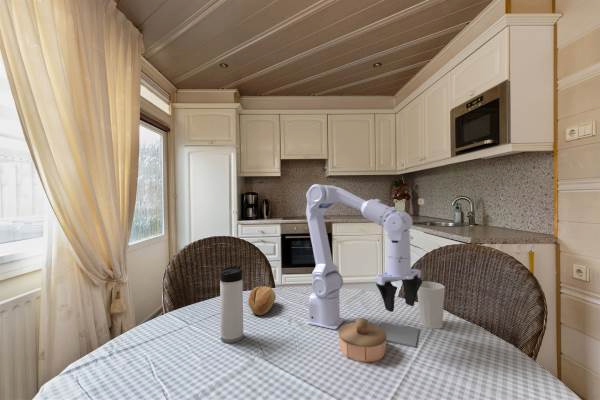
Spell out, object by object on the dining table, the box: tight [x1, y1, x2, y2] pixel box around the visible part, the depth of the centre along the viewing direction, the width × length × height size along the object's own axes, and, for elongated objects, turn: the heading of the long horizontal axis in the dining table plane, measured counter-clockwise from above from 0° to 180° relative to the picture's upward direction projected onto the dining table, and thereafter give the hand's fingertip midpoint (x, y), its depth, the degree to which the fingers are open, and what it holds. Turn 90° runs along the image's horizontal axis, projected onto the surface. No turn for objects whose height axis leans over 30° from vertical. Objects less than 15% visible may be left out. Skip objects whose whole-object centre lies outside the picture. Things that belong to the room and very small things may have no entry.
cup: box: [417, 281, 446, 330], centre depth 84 cm, size 8×8×12 cm
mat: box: [378, 321, 420, 348], centre depth 78 cm, size 11×11×1 cm
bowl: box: [338, 335, 387, 363], centre depth 70 cm, size 11×11×4 cm
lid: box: [338, 317, 387, 347], centre depth 70 cm, size 12×12×4 cm
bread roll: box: [247, 285, 276, 316], centre depth 99 cm, size 10×15×8 cm, turn 179°
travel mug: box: [219, 264, 244, 344], centre depth 78 cm, size 6×7×20 cm
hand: (399, 307), depth 72 cm, fingers open, 7 cm apart
